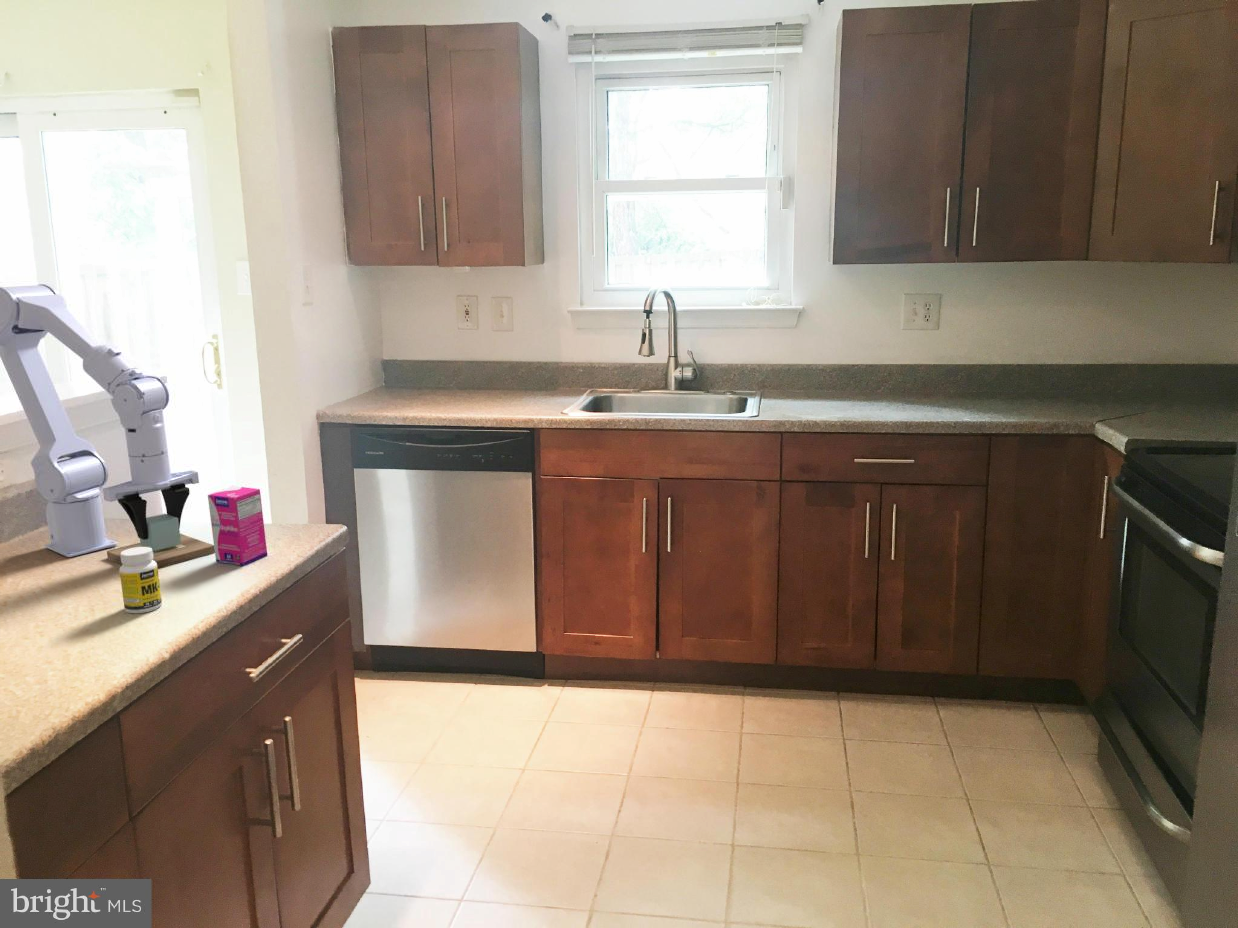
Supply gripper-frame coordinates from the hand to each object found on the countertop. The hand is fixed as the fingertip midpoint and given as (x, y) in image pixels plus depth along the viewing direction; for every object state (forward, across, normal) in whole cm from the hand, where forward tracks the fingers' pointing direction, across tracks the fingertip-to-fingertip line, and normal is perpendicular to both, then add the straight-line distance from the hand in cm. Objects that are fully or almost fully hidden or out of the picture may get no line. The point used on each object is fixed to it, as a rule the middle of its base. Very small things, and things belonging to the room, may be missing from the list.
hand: (159, 534), depth 154 cm
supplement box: (+4, +7, -13) cm, 15 cm away
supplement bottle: (+4, -13, -21) cm, 25 cm away
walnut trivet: (+4, 0, 0) cm, 4 cm away
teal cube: (+2, 0, 0) cm, 2 cm away
